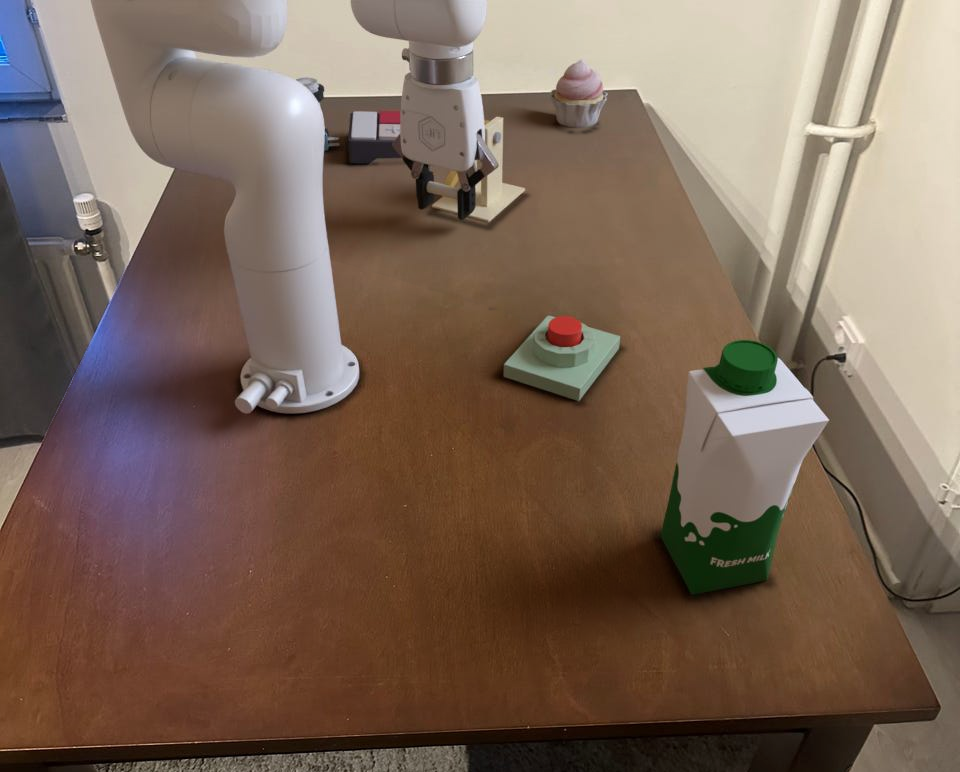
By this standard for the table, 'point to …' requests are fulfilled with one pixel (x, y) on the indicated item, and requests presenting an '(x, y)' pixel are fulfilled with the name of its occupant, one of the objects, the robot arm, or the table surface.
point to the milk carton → (737, 466)
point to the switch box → (562, 361)
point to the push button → (318, 93)
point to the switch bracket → (488, 182)
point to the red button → (564, 331)
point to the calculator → (373, 135)
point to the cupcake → (578, 96)
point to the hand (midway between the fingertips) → (446, 209)
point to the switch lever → (446, 184)
